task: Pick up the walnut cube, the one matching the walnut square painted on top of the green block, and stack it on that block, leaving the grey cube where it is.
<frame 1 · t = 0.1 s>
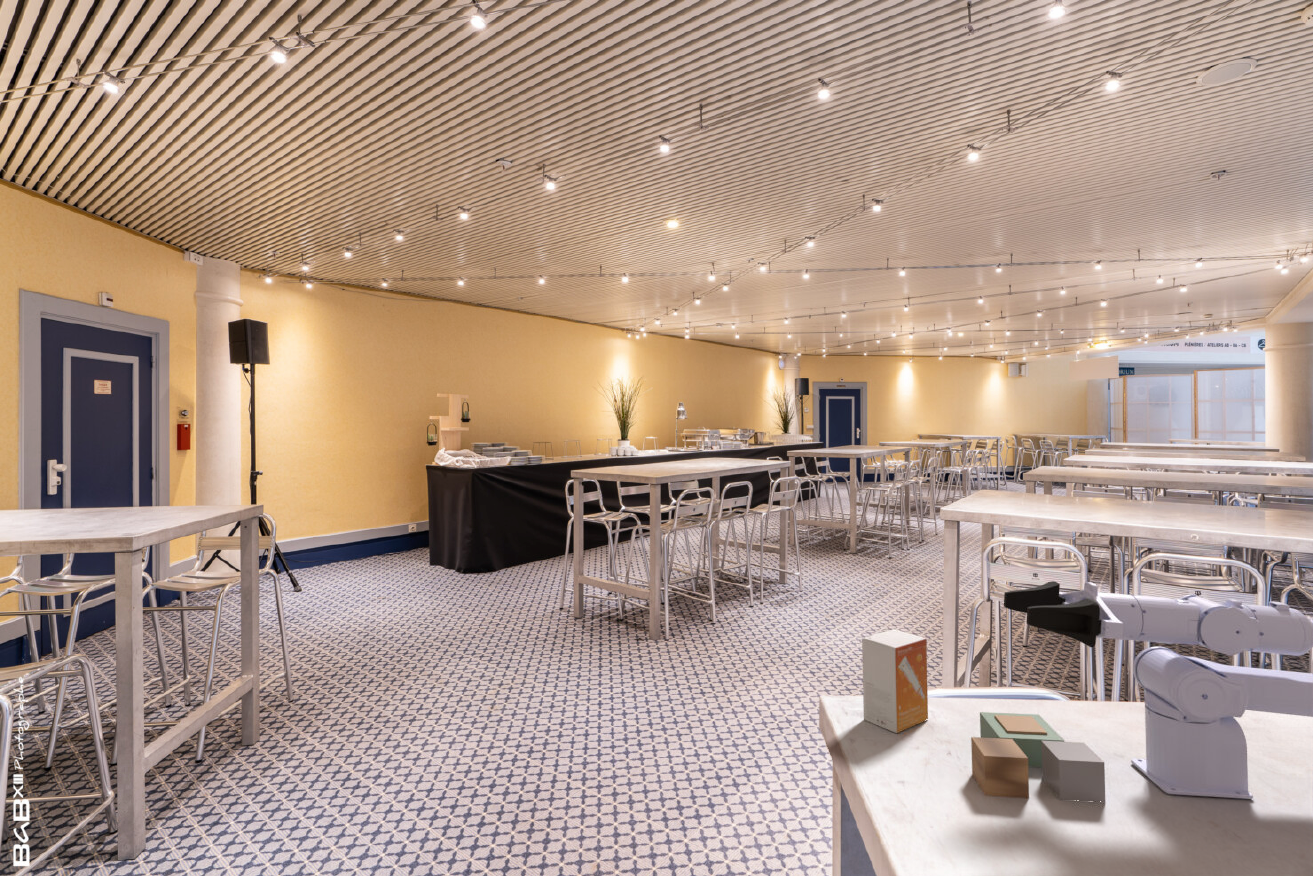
hand: (1015, 607, 84), 22 cm above the table, tool horizontal, fingers open, 7 cm apart
walnut cube: (999, 786, 81), on the table
small box: (896, 721, 100), on the table
grey cube: (1072, 791, 80), on the table
green block: (1020, 754, 89), on the table
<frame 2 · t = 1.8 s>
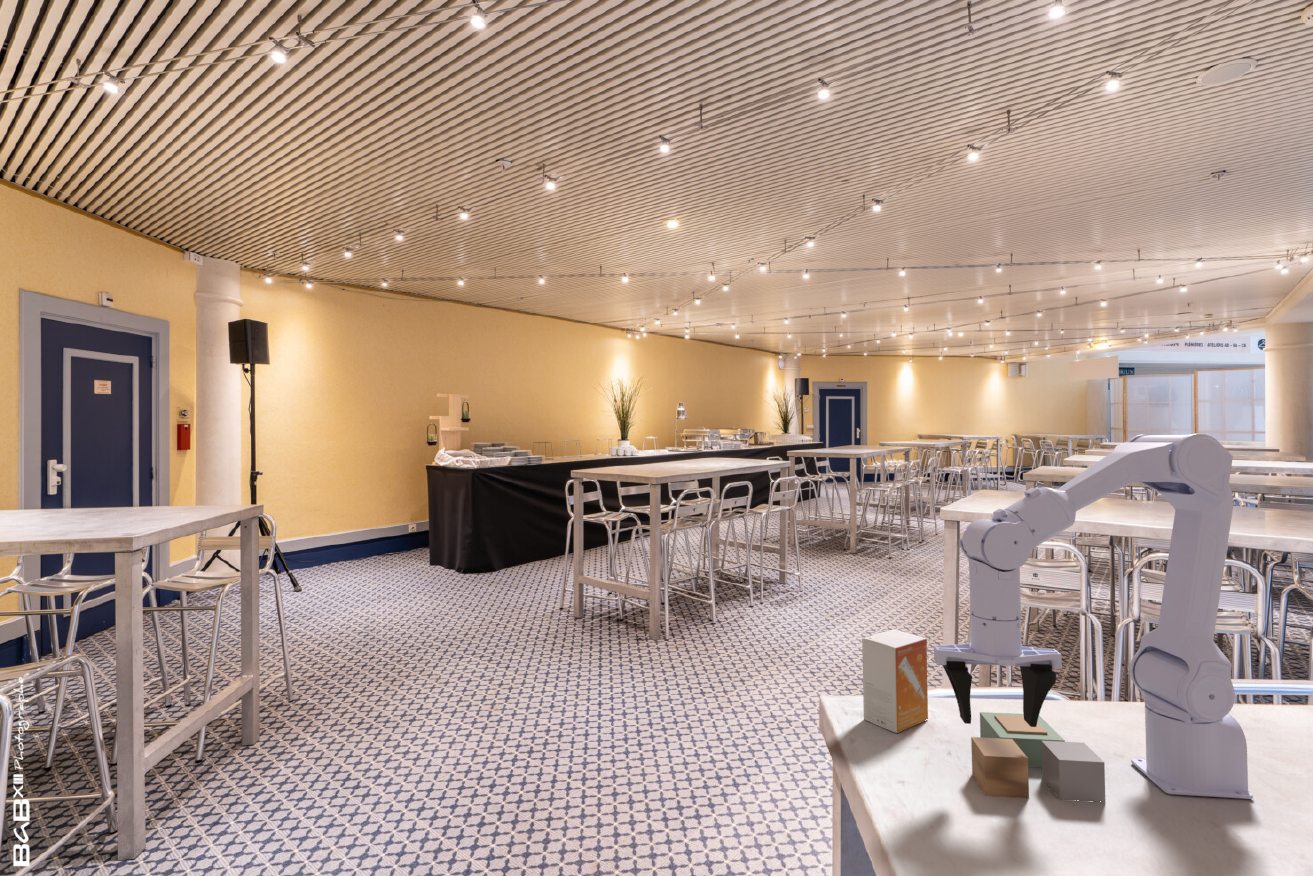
hand: (997, 722, 81), 8 cm above the table, tool pointing down, fingers open, 7 cm apart
nothing on the table moved.
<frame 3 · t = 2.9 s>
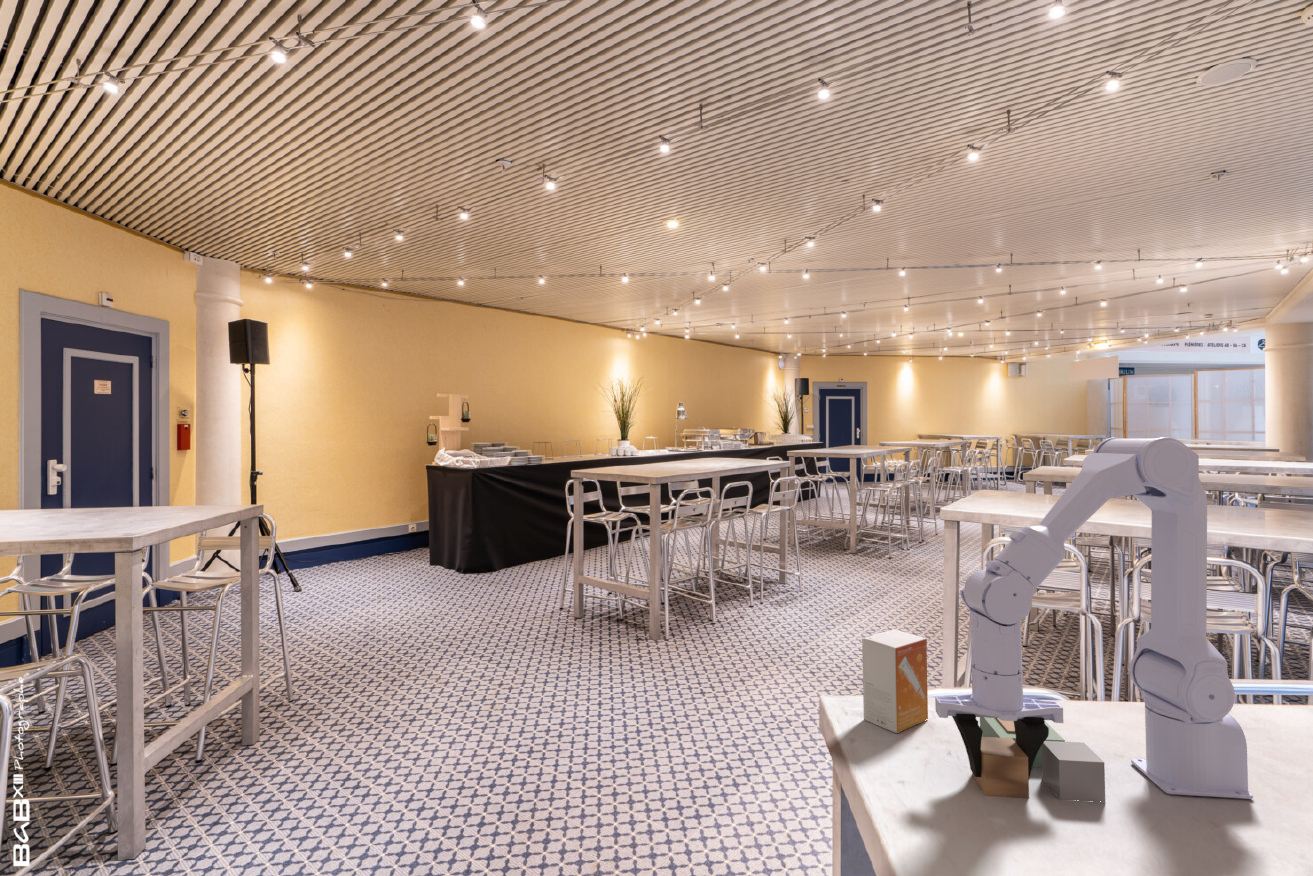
hand: (999, 774, 81), 1 cm above the table, tool pointing down, fingers closed on walnut cube, 5 cm apart
walnut cube: (999, 785, 81), on the table, touching gripper
everything else where it was.
when the fingers open (7 cm above the table, at t = 6.0 s): walnut cube drops 1 cm, resting on green block.
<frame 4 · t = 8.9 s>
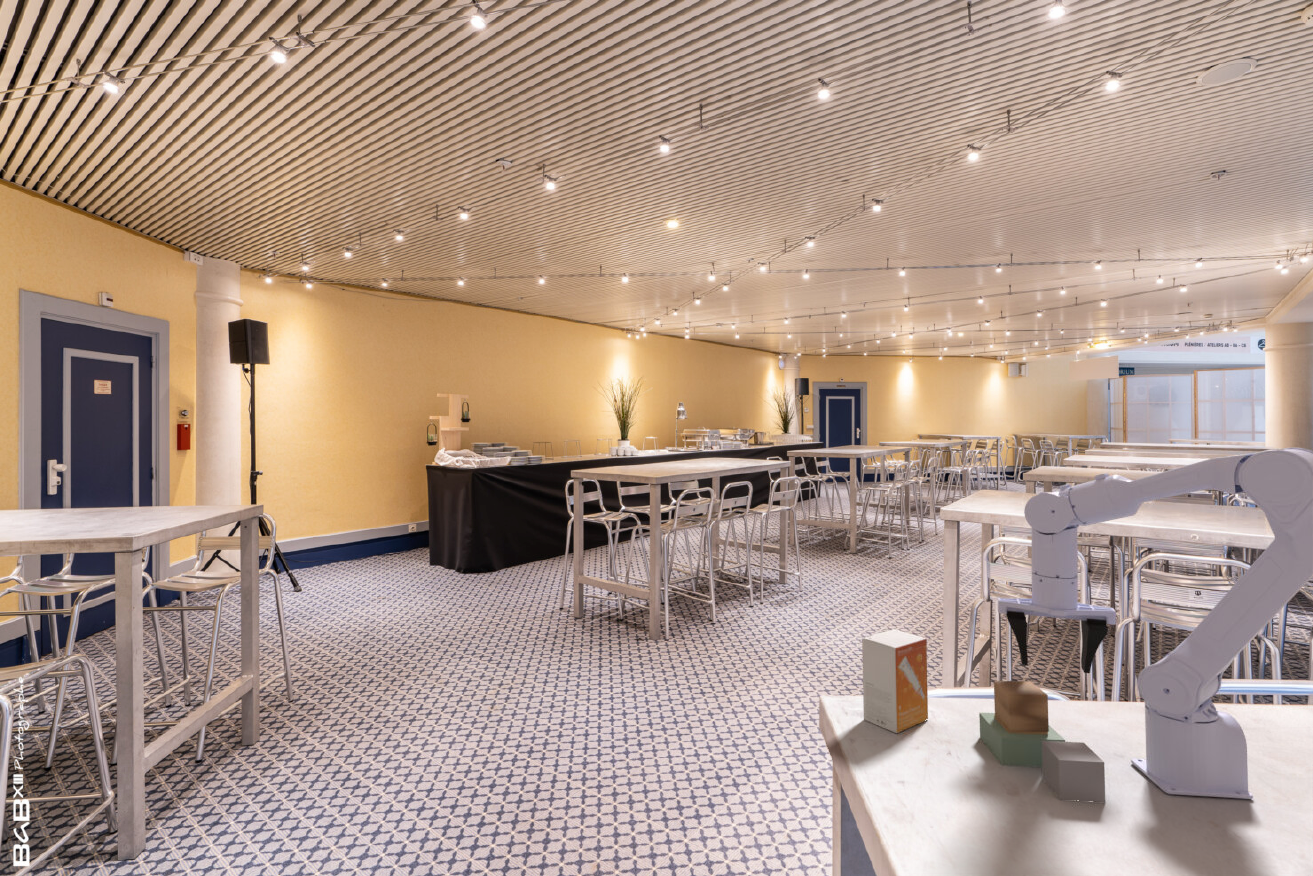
hand: (1054, 666, 93), 10 cm above the table, tool pointing down, fingers open, 7 cm apart
walnut cube: (1021, 723, 89), point 4 cm above the table, touching green block
green block: (1020, 754, 89), on the table, touching walnut cube
everything else where it was.
at the end: walnut cube 0.1 cm off-centre on the green block, point 4.3 cm above the green block's base; walnut cube tilted 0°; grey cube moved 0.1 cm from its start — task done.
